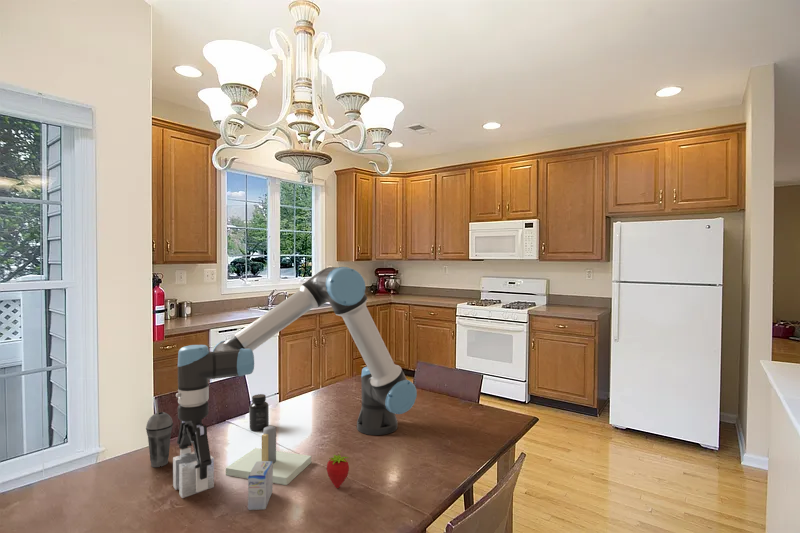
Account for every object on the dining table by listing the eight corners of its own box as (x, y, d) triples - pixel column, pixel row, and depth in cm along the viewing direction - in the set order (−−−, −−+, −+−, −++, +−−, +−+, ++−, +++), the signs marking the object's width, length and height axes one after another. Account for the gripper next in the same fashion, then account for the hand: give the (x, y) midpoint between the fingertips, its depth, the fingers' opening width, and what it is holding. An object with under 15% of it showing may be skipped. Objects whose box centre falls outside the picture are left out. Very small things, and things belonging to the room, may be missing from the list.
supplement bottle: (271, 425, 160) (271, 393, 160) (264, 432, 153) (264, 399, 153) (254, 424, 161) (254, 392, 160) (246, 431, 154) (246, 398, 154)
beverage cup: (178, 460, 131) (178, 396, 131) (158, 471, 124) (158, 403, 124) (160, 456, 133) (160, 393, 133) (139, 467, 126) (139, 400, 126)
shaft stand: (225, 474, 122) (225, 433, 122) (255, 454, 135) (255, 416, 135) (286, 485, 116) (286, 441, 116) (311, 462, 129) (311, 423, 129)
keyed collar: (173, 486, 115) (173, 457, 115) (203, 476, 121) (203, 448, 121) (182, 498, 110) (182, 467, 110) (213, 487, 115) (213, 457, 115)
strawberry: (343, 478, 120) (343, 443, 120) (352, 491, 113) (352, 454, 113) (323, 483, 117) (323, 447, 117) (331, 496, 110) (331, 458, 110)
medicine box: (255, 493, 112) (255, 461, 112) (273, 492, 112) (272, 460, 112) (247, 510, 104) (247, 475, 104) (266, 509, 104) (266, 475, 104)
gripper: (165, 395, 122) (165, 468, 122) (193, 418, 103) (193, 504, 104) (192, 390, 127) (192, 460, 127) (224, 410, 109) (224, 493, 109)
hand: (193, 480), depth 115 cm, fingers open, 13 cm apart
